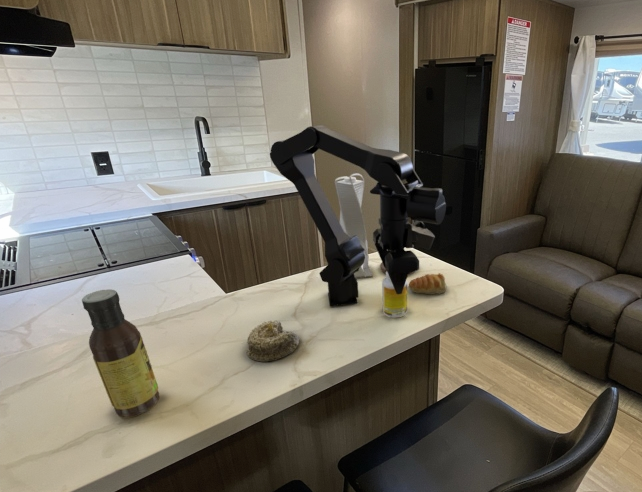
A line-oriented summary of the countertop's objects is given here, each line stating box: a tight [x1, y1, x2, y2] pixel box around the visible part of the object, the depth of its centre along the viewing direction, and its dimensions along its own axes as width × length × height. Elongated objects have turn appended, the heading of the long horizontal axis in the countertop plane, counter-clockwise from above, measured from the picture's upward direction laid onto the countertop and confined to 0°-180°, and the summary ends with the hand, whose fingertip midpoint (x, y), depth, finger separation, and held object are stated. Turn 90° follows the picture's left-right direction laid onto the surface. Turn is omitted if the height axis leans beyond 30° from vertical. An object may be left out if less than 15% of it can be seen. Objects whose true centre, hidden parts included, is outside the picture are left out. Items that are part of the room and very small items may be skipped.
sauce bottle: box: [81, 288, 160, 418], centre depth 60 cm, size 6×6×20 cm
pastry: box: [407, 272, 447, 295], centre depth 102 cm, size 9×7×4 cm
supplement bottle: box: [381, 271, 408, 319], centre depth 90 cm, size 6×6×10 cm
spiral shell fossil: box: [246, 320, 300, 362], centre depth 78 cm, size 10×10×5 cm
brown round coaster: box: [380, 262, 415, 276], centre depth 113 cm, size 10×10×1 cm
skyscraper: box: [334, 172, 374, 280], centre depth 104 cm, size 8×8×28 cm
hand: (394, 284), depth 89 cm, fingers open, 9 cm apart
